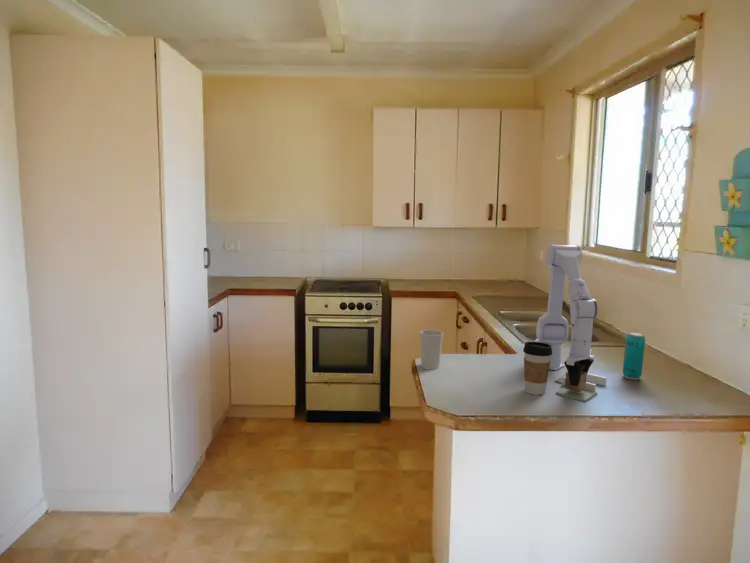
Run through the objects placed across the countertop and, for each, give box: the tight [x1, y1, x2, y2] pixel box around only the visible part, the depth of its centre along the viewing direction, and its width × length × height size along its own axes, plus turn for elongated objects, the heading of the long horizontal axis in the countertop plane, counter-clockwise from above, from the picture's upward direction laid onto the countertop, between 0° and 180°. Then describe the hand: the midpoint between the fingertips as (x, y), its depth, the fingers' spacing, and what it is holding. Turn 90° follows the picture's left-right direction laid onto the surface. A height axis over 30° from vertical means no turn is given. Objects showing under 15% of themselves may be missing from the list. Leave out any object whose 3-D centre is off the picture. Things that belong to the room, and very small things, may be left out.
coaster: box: [555, 386, 598, 403], centre depth 163 cm, size 9×9×1 cm
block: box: [564, 371, 587, 392], centre depth 162 cm, size 4×4×5 cm
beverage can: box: [622, 331, 646, 381], centre depth 178 cm, size 6×6×15 cm
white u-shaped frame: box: [554, 372, 607, 392], centre depth 172 cm, size 13×10×2 cm
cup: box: [419, 329, 444, 370], centre depth 185 cm, size 8×8×12 cm
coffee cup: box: [522, 341, 552, 396], centre depth 163 cm, size 8×8×15 cm
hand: (577, 383), depth 162 cm, fingers closed on block, 4 cm apart
